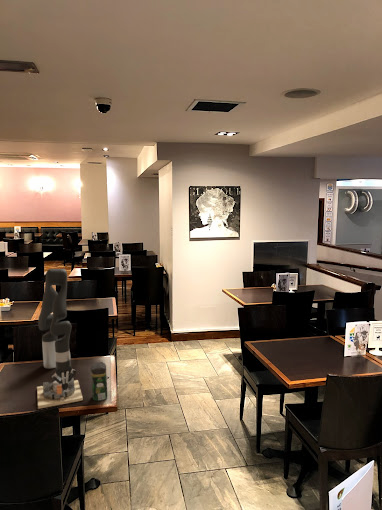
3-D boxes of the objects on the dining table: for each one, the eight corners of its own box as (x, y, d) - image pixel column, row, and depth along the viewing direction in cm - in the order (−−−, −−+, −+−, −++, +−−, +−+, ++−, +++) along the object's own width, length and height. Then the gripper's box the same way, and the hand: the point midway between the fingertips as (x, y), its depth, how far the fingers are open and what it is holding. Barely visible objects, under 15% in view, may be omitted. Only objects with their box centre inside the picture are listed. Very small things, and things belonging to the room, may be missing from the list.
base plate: (37, 389, 224) (36, 377, 223) (78, 382, 232) (77, 370, 231) (38, 408, 204) (37, 395, 203) (82, 400, 212) (82, 387, 211)
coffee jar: (92, 393, 219) (90, 361, 216) (107, 391, 221) (105, 359, 218) (92, 402, 210) (90, 368, 207) (107, 400, 212) (106, 367, 209)
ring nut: (73, 382, 228) (72, 372, 227) (75, 395, 213) (75, 385, 212) (43, 387, 223) (42, 377, 222) (43, 401, 208) (42, 390, 207)
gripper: (72, 353, 217) (74, 383, 220) (47, 359, 209) (50, 390, 212) (77, 357, 211) (79, 388, 214) (52, 364, 203) (54, 396, 206)
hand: (65, 389), depth 213 cm, fingers closed
